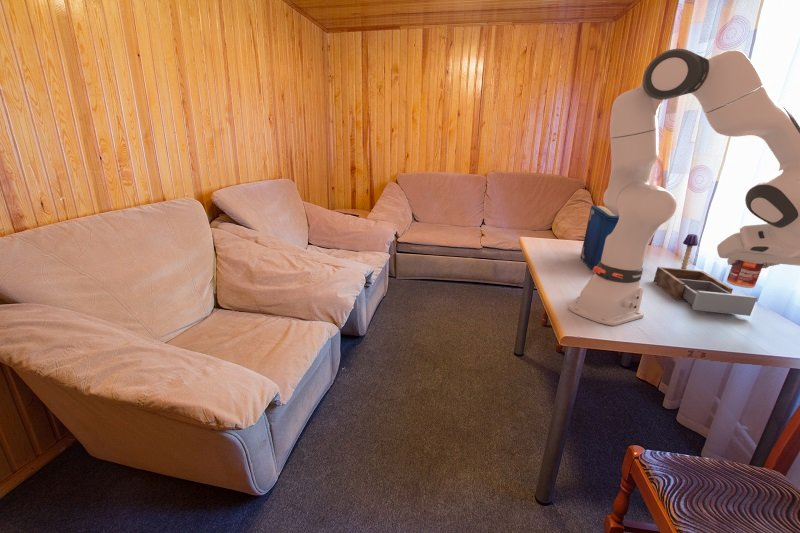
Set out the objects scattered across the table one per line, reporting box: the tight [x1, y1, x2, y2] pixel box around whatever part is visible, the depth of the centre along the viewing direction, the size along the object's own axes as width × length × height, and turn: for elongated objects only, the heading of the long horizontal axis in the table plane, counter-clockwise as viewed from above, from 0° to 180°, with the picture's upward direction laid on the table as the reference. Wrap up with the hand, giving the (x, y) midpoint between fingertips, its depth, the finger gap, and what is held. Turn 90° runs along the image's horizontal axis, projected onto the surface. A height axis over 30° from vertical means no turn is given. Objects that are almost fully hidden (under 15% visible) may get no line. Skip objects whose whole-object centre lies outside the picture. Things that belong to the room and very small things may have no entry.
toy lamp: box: [680, 233, 699, 270], centre depth 146 cm, size 5×5×17 cm
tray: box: [677, 278, 758, 317], centre depth 119 cm, size 19×15×6 cm
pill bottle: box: [726, 260, 764, 289], centre depth 103 cm, size 6×6×11 cm
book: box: [579, 204, 619, 272], centre depth 149 cm, size 22×7×25 cm, turn 168°
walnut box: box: [653, 266, 734, 302], centre depth 129 cm, size 18×15×6 cm
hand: (745, 264), depth 103 cm, fingers closed on pill bottle, 6 cm apart
